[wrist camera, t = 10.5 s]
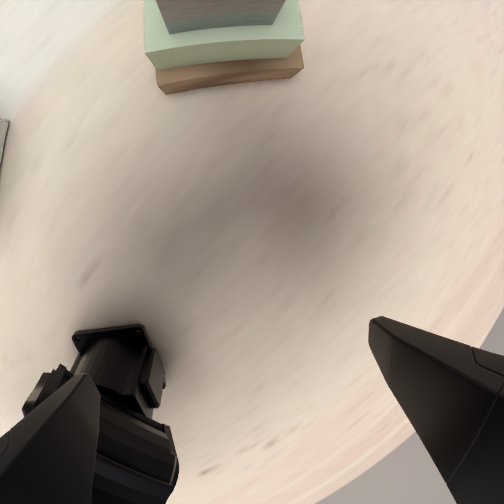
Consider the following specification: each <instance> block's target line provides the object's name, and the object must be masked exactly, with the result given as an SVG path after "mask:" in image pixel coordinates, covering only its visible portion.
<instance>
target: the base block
mask: <svg viewBox="0 0 504 504" xmlns="http://www.w3.org/2000/svg"><path fill="white" fill-rule="evenodd" d="M303 68H304V65H303V59H302V53H301V47H300V45H299V46H298V47H297V48H296V49H295V50H294V51H293V52H292V53H291V54H290V55H289V57H288V58H281V59H251V60H236V61H224V62H214V63H205V64H197V65H189V66H182V67H176V68H170V69H164V70H157V69H156V76H157V84H158V87H159V88H160V89H161V90H162V91H163V92H164V93H165V94H171V93H176V92H181V91H187V90H192V89H198V88H204V87H211V86H217V85H225V84H232V83H241V82H250V81H260V80H272V79H287V78H292V77H293V76H294V75H295V74H297V73H298V72H299V71H300V70H302V69H303Z"/></svg>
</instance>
